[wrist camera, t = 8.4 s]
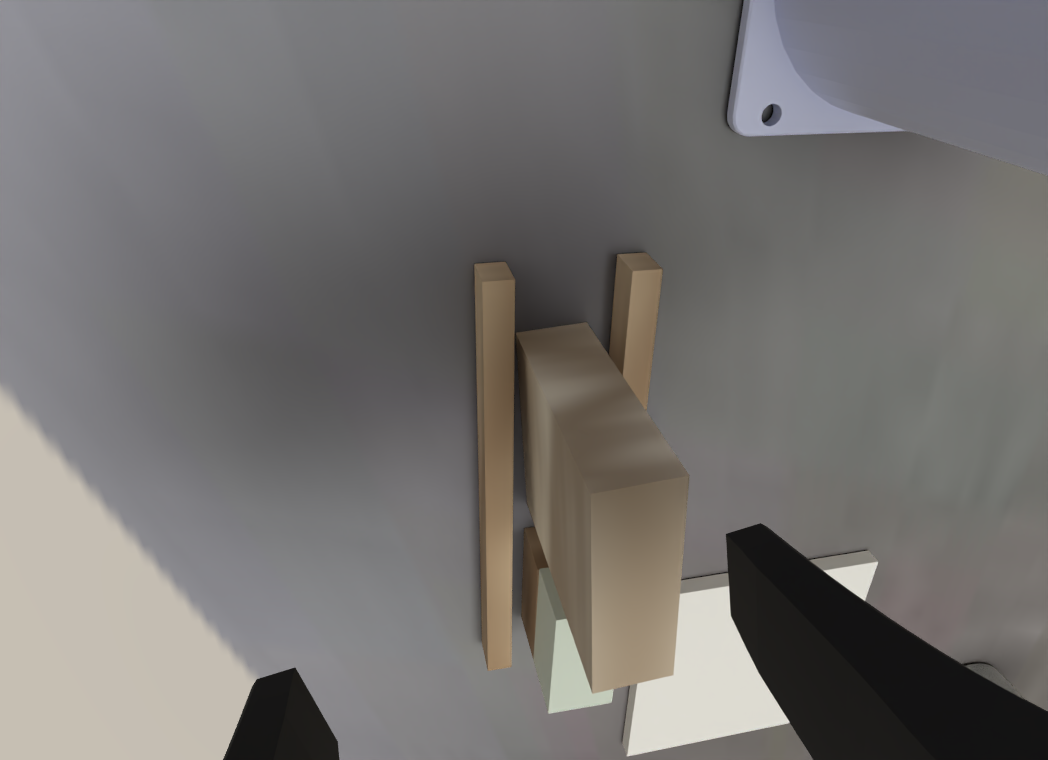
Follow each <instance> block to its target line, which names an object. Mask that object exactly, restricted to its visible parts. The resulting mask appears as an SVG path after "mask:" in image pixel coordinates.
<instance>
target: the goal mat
mask: <svg viewBox="0 0 1048 760" xmlns="http://www.w3.org/2000/svg"><path fill="white" fill-rule="evenodd" d="M810 561H811V562H812V563H814V564H815V565H816V566H818V567H819V568H820V569H822V570H823V571H824V572H826V573H827V574H828V575H830V576H831V577H832V578H833V579H835V580H836V581H838V582H839V583H840V584H842V585H843V586H844V587H846V588H847V589H849V590H850V591H851V592H853V593H854V594H856V595H857V596H858V597H860V598H861V599H863V600H864V601H865V599H866V596H867V593H868V590H869V587H870V584H871V581H872V578H873V576H874V573H875V570H876V567H877V564H878V561H877V560H876V558H875V557H874V556H873V555H872V554H871V553H870V552H869V551H862V552H856V553H850V554H843V555H837V556H831V557H824V558H818V559H812V560H810ZM787 723H790V722H789V720H788V719H787V717H786V716H785V714H784V713H783V711H782V709H781V708H780V706H779V705H778V703H777V701H776V700H775V698H774V697H773V695H772V694H771V692H770V690H769V689H768V687H767V686H766V684H765V682H764V681H763V679H762V677H761V676H760V674H759V673H758V671H757V669H756V667H755V665H754V663H753V661H752V659H751V657H750V655H749V653H748V651H747V649H746V647H745V645H744V642H743V640H742V638H741V636H740V634H739V632H738V630H737V628H736V626H735V624H734V622H733V620H732V617H731V612H730V595H729V577H728V573H724V574H718V575H711V576H705V577H699V578H693V579H686V580H681V587H680V599H679V612H678V624H677V637H676V649H675V662H674V674H673V675H672V676H668V677H663V678H659V679H655V680H650V681H646V682H642V683H637V684H633V685H630V689H629V697H628V704H627V712H626V719H625V727H624V734H623V742H622V744H623V746H624V749H625V752H626V755H627V756H631V755H636V754H641V753H646V752H651V751H655V750H660V749H665V748H670V747H675V746H680V745H685V744H689V743H694V742H699V741H704V740H709V739H714V738H719V737H724V736H728V735H733V734H738V733H743V732H748V731H753V730H758V729H762V728H767V727H772V726H777V725H782V724H787Z"/></svg>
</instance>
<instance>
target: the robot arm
mask: <svg viewBox="0 0 1048 760" xmlns="http://www.w3.org/2000/svg"><path fill="white" fill-rule="evenodd" d="M770 104H772V105H773V114H772V117H771V118H770V119H769V120H768V121H767V122H764V123H763V122H762V116H761V115H762V113H763V110H764V109H765V108H766V107H767V106H768V105H770ZM727 122H728V124H729V126H730V128H731V129H732V130H733V131H735V132H736V133H738V134H740V135H743V136H777V135H806V134H834V133H863V132H892V131H909V132H913V133H916V134H919V135H922V136H925V137H928V138H931V139H934V140H938V141H941V142H944V143H947V144H950V145H953V146H956V147H959V148H963V149H966V150H969V151H972V152H975V153H978V154H981V155H984V156H988V157H991V158H994V159H997V160H1000V161H1003V162H1006V163H1009V164H1013V165H1016V166H1019V167H1022V168H1025V169H1028V170H1031V171H1034V172H1038V173H1041V174H1044V175H1047V176H1048V0H744V3H743V10H742V16H741V23H740V30H739V37H738V44H737V50H736V57H735V64H734V71H733V78H732V84H731V91H730V98H729V105H728V111H727ZM726 542H727V559H728V577H729V595H730V612H731V617H732V620H733V622H734V624H735V626H736V628H737V630H738V632H739V634H740V636H741V638H742V640H743V642H744V645H745V647H746V649H747V651H748V653H749V655H750V657H751V659H752V661H753V663H754V665H755V667H756V669H757V671H758V673H759V674H760V676H761V677H762V679H763V681H764V682H765V684H766V686H767V687H768V689H769V690H770V692H771V694H772V695H773V697H774V698H775V700H776V701H777V703H778V705H779V706H780V708H781V709H782V711H783V713H784V714H785V716H786V717H787V719H788V720H789V722H790V724H791V725H792V727H793V728H794V730H795V731H796V733H797V735H798V736H799V738H800V739H801V741H802V742H803V744H804V746H805V747H806V749H807V750H808V752H809V753H810V755H811V756H812V758H813V760H1048V711H1046V710H1044V709H1042V708H1040V707H1038V706H1036V705H1034V704H1032V703H1031V702H1029V701H1027V700H1025V699H1023V698H1021V697H1019V696H1017V695H1015V694H1013V693H1012V692H1010V691H1008V690H1006V689H1004V688H1003V687H1001V686H999V685H997V684H995V683H994V682H992V681H990V680H988V679H987V678H985V677H983V676H981V675H979V674H978V673H976V672H974V671H973V670H971V669H969V668H967V667H966V666H964V665H962V664H961V663H959V662H957V661H956V660H954V659H952V658H951V657H949V656H947V655H946V654H944V653H942V652H941V651H939V650H938V649H936V648H935V647H933V646H931V645H930V644H928V643H927V642H925V641H924V640H922V639H920V638H919V637H917V636H916V635H914V634H913V633H911V632H909V631H908V630H906V629H905V628H903V627H902V626H900V625H899V624H897V623H896V622H894V621H893V620H891V619H890V618H888V617H887V616H886V615H884V614H883V613H881V612H880V611H878V610H877V609H876V608H874V607H873V606H871V605H870V604H868V603H867V602H866V601H864V600H863V599H861V598H860V597H858V596H857V595H856V594H854V593H853V592H851V591H850V590H849V589H847V588H846V587H844V586H843V585H842V584H840V583H839V582H838V581H836V580H835V579H833V578H832V577H831V576H830V575H828V574H827V573H826V572H824V571H823V570H822V569H820V568H819V567H818V566H816V565H815V564H814V563H812V562H811V561H810V560H808V559H807V558H806V557H805V556H803V555H802V554H801V553H799V552H798V551H797V550H796V549H794V548H793V547H792V546H790V545H789V544H788V543H787V542H785V541H784V540H783V539H782V538H780V537H779V536H778V535H777V534H775V533H774V532H773V531H772V530H770V529H769V528H768V527H766V526H765V525H763V524H761V523H760V524H757V525H754V526H750V527H747V528H744V529H741V530H737V531H734V532H731V533H728V534H726ZM223 760H339V752H338V741H337V740H336V738H335V736H334V734H333V733H332V731H331V729H330V727H329V726H328V724H327V722H326V720H325V719H324V717H323V715H322V713H321V712H320V710H319V708H318V706H317V705H316V703H315V701H314V699H313V698H312V696H311V694H310V692H309V691H308V689H307V687H306V685H305V684H304V682H303V680H302V679H301V677H300V675H299V673H298V672H297V670H296V668H292V669H289V670H286V671H282V672H279V673H276V674H273V675H269V676H266V677H263V678H260V679H257V680H256V682H255V683H254V685H253V686H252V689H251V691H250V694H249V696H248V699H247V701H246V704H245V707H244V709H243V712H242V715H241V717H240V720H239V722H238V724H237V727H236V729H235V732H234V735H233V737H232V740H231V742H230V744H229V747H228V749H227V752H226V754H225V756H224V759H223Z"/></svg>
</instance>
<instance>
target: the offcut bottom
mask: <svg viewBox="0 0 1048 760" xmlns="http://www.w3.org/2000/svg"><path fill="white" fill-rule="evenodd" d="M541 568H549V566H548V563H547V560H546V557H545V554H544V552H543V549H542V546H541V543H540V540H539V537H538V534H537V531H536V528H535V527H529V528H524V547H523V578H522V610H521V617H522V621H523V624H524V628H525V631H526V635H527V638H528V642H529V646H530V649H531V653H532V656H533V659H534V644H535V628H536V613H537V598H538V583H539V569H541Z"/></svg>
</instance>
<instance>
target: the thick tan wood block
mask: <svg viewBox="0 0 1048 760" xmlns="http://www.w3.org/2000/svg"><path fill="white" fill-rule="evenodd" d="M516 346H517V361H518V376H519V391H520V407H521V422H522V437H523V452H524V467H525V482H526V497H527V505H528V508H529V511H530V514H531V517H532V520H533V522H534V525H535V528H536V531H537V534H538V537H539V540H540V543H541V546H542V549H543V552H544V554H545V557H546V560H547V563H548V566H549V569H550V572H551V575H552V578H553V581H554V584H555V586H556V589H557V592H558V595H559V598H560V601H561V604H562V607H563V610H564V613H565V616H566V619H567V621H568V624H569V627H570V630H571V633H572V636H573V639H574V642H575V645H576V648H577V651H578V653H579V656H580V659H581V662H582V665H583V668H584V671H585V674H586V677H587V680H588V683H589V685H590V688H591V691H592V694H594V693H598V692H603V691H607V690H611V689H616V688H620V687H624V686H629V685H633V684H637V683H642V682H646V681H650V680H655V679H659V678H663V677H668V676H672V675H673V674H674V662H675V649H676V637H677V624H678V612H679V599H680V587H681V574H682V562H683V549H684V537H685V524H686V511H687V499H688V486H689V474H688V473H687V471H686V470H685V468H684V467H683V465H682V464H681V462H680V461H679V459H678V458H677V456H676V455H675V453H674V452H673V450H672V449H671V447H670V446H669V444H668V443H667V441H666V440H665V438H664V437H663V435H662V434H661V432H660V431H659V429H658V428H657V426H656V425H655V423H654V422H653V421H652V419H651V418H650V416H649V415H648V413H647V412H646V410H645V409H644V407H643V406H642V404H641V403H640V401H639V400H638V398H637V397H636V395H635V394H634V392H633V391H632V389H631V388H630V386H629V385H628V383H627V382H626V380H625V379H624V377H623V376H622V374H621V373H620V371H619V370H618V368H617V367H616V365H615V364H614V362H613V361H612V359H611V358H610V356H609V355H608V353H607V352H606V350H605V349H604V347H603V346H602V344H601V343H600V341H599V340H598V338H597V337H596V335H595V334H594V332H593V331H592V329H591V328H590V326H589V325H588V323H587V322H584V323H578V324H571V325H564V326H558V327H551V328H544V329H537V330H531V331H524V332H517V333H516Z"/></svg>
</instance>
